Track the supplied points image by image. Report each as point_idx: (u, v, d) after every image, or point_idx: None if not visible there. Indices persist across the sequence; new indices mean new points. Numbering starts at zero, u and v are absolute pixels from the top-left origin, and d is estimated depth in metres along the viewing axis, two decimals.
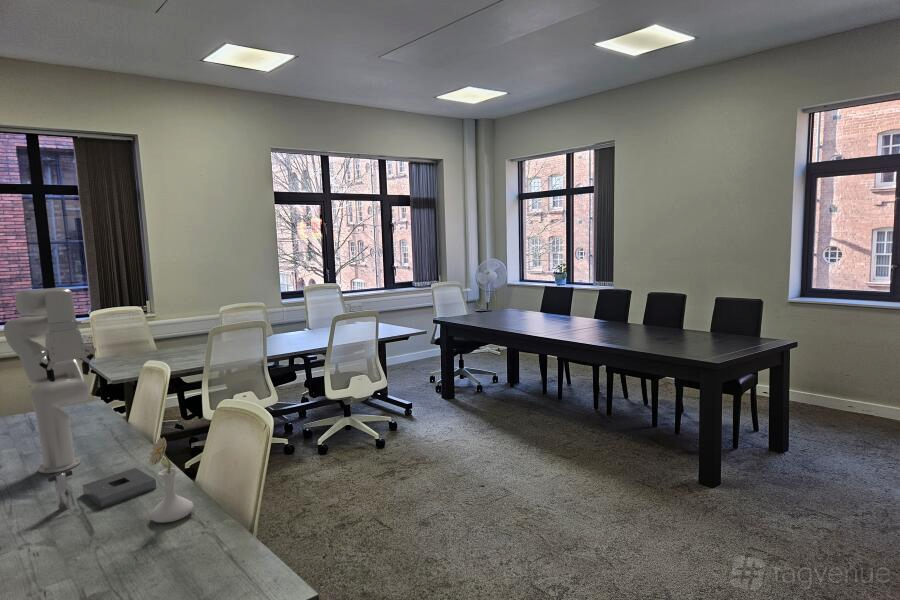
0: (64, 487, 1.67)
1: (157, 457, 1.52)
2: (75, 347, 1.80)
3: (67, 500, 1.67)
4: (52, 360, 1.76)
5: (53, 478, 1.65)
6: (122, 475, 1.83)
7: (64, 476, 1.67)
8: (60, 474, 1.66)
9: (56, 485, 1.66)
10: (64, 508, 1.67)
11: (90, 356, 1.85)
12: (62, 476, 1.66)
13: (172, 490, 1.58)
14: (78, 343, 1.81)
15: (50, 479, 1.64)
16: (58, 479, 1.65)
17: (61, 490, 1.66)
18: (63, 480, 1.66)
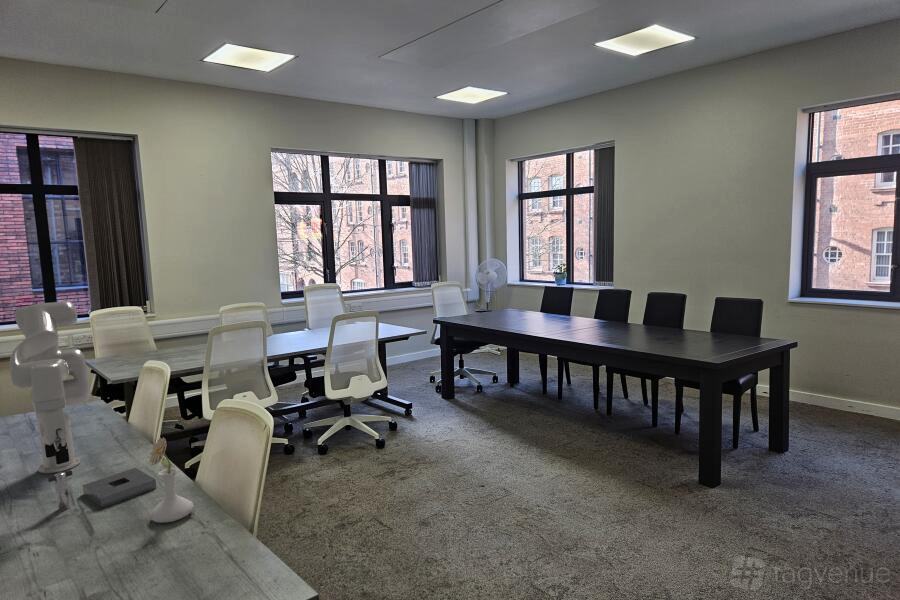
0: (64, 487, 1.67)
1: (157, 457, 1.52)
2: None
3: (67, 500, 1.67)
4: (67, 437, 1.64)
5: (53, 478, 1.65)
6: (122, 475, 1.83)
7: (64, 476, 1.67)
8: (60, 474, 1.66)
9: (56, 485, 1.66)
10: (64, 508, 1.67)
11: None
12: (62, 476, 1.66)
13: (172, 490, 1.58)
14: None
15: (50, 479, 1.64)
16: (58, 479, 1.65)
17: (61, 490, 1.66)
18: (63, 480, 1.66)
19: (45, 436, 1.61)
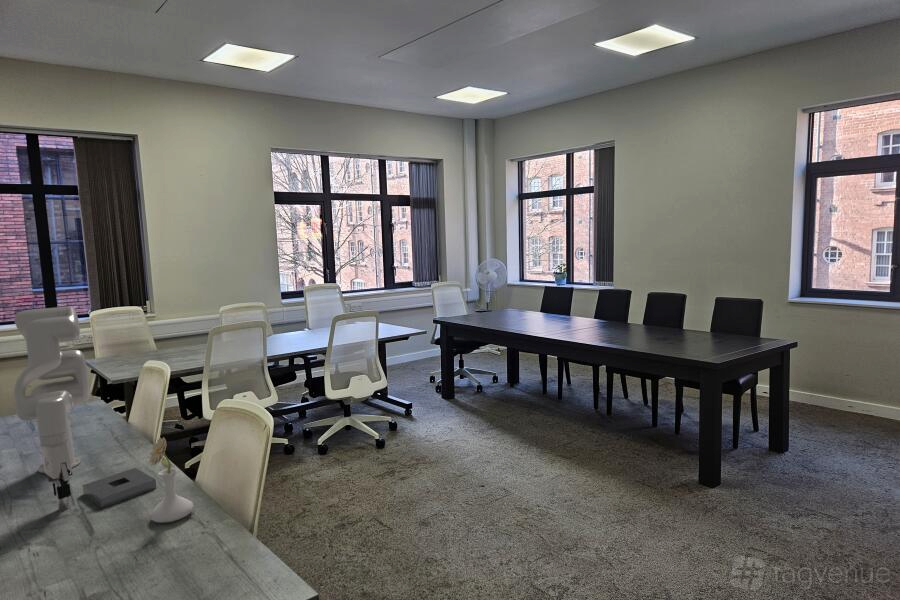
0: None
1: (157, 457, 1.52)
2: None
3: (67, 500, 1.67)
4: (71, 471, 1.65)
5: None
6: (122, 475, 1.83)
7: None
8: (60, 474, 1.66)
9: (56, 485, 1.66)
10: (64, 508, 1.67)
11: None
12: None
13: (172, 490, 1.58)
14: None
15: (50, 479, 1.64)
16: None
17: None
18: None
19: (50, 470, 1.63)
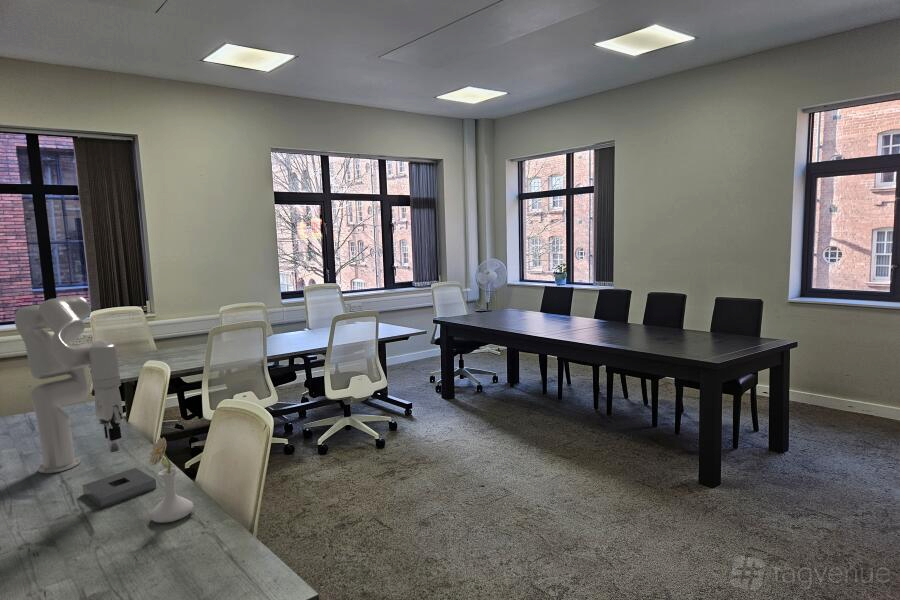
0: None
1: (157, 457, 1.52)
2: None
3: (118, 442, 1.76)
4: (122, 414, 1.74)
5: (105, 421, 1.73)
6: (122, 475, 1.83)
7: None
8: None
9: (108, 428, 1.74)
10: (115, 450, 1.75)
11: None
12: None
13: (172, 490, 1.58)
14: None
15: (102, 421, 1.73)
16: None
17: None
18: None
19: (102, 412, 1.71)
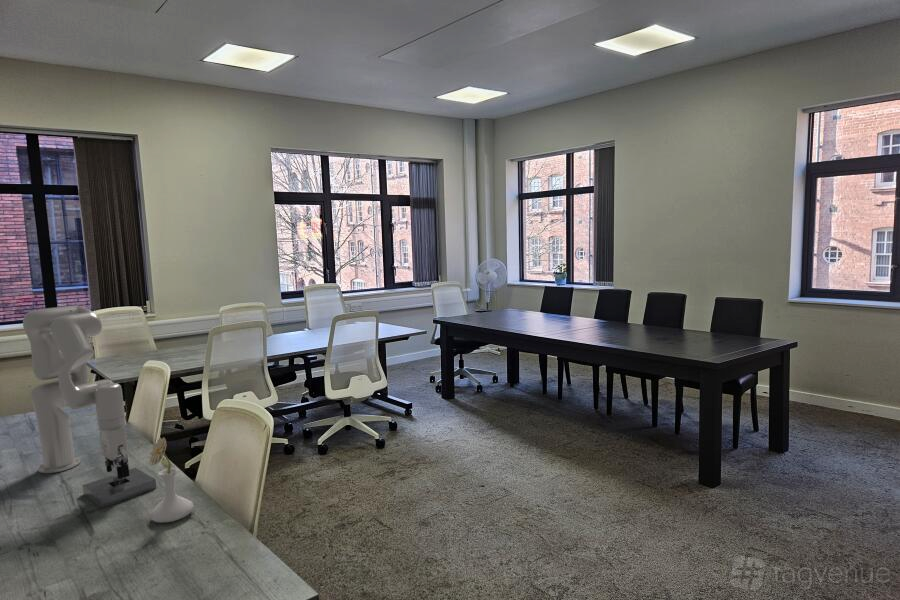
0: None
1: (157, 457, 1.52)
2: None
3: (123, 483, 1.78)
4: (127, 453, 1.75)
5: (110, 462, 1.75)
6: None
7: None
8: None
9: (113, 469, 1.76)
10: None
11: None
12: None
13: (172, 490, 1.58)
14: None
15: (108, 463, 1.74)
16: (114, 463, 1.76)
17: None
18: None
19: (108, 452, 1.73)
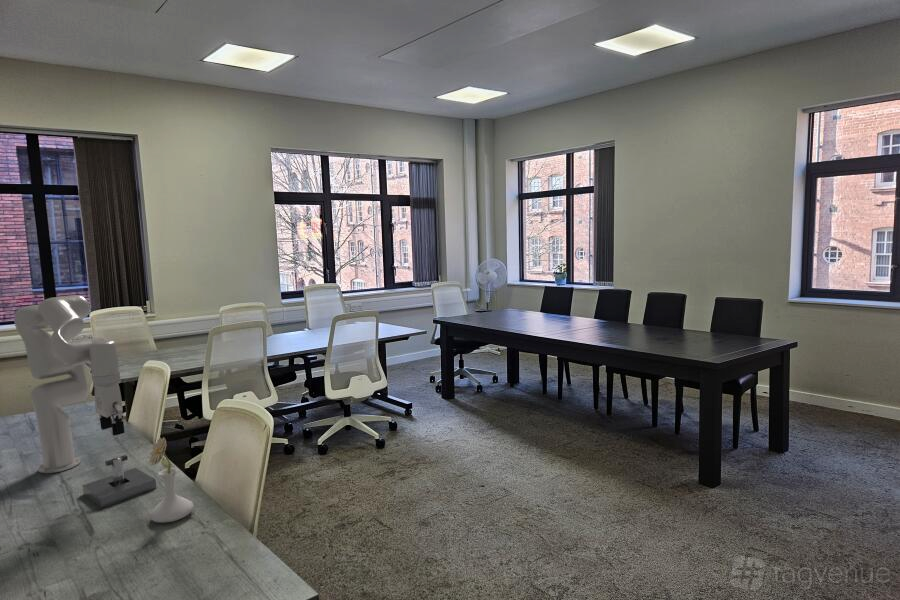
0: (120, 471, 1.77)
1: (157, 457, 1.52)
2: None
3: (123, 483, 1.78)
4: None
5: (111, 462, 1.75)
6: None
7: (120, 460, 1.77)
8: (117, 459, 1.77)
9: (113, 469, 1.76)
10: None
11: None
12: (119, 460, 1.76)
13: (172, 490, 1.58)
14: None
15: (108, 463, 1.74)
16: (115, 463, 1.76)
17: (117, 474, 1.76)
18: (119, 464, 1.77)
19: (102, 409, 1.71)
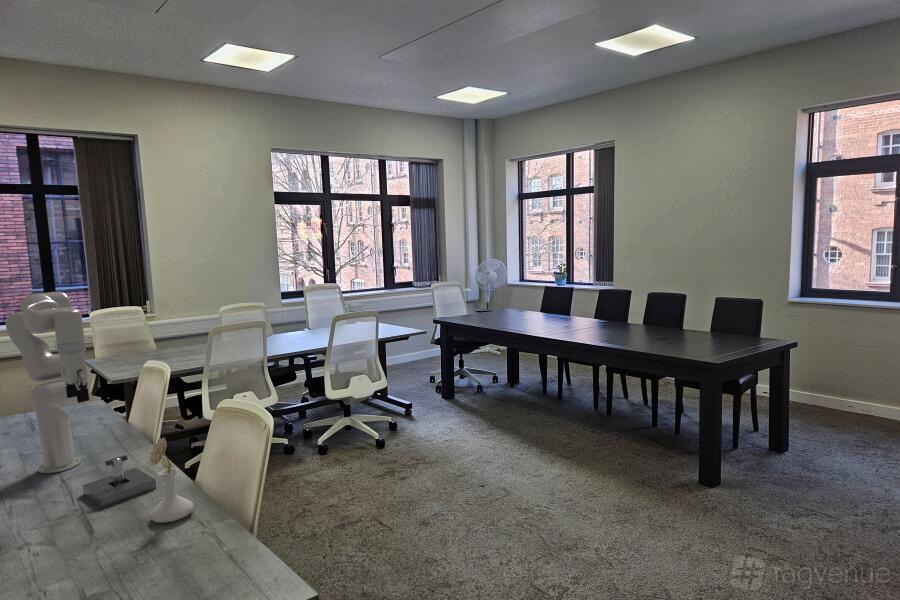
0: (120, 471, 1.77)
1: (157, 457, 1.52)
2: None
3: (123, 483, 1.78)
4: None
5: (110, 462, 1.75)
6: None
7: (120, 460, 1.77)
8: (116, 459, 1.77)
9: (113, 469, 1.76)
10: None
11: None
12: (118, 460, 1.76)
13: (172, 490, 1.58)
14: None
15: (108, 463, 1.74)
16: (115, 463, 1.76)
17: (117, 474, 1.76)
18: (119, 464, 1.77)
19: (67, 376, 1.74)
